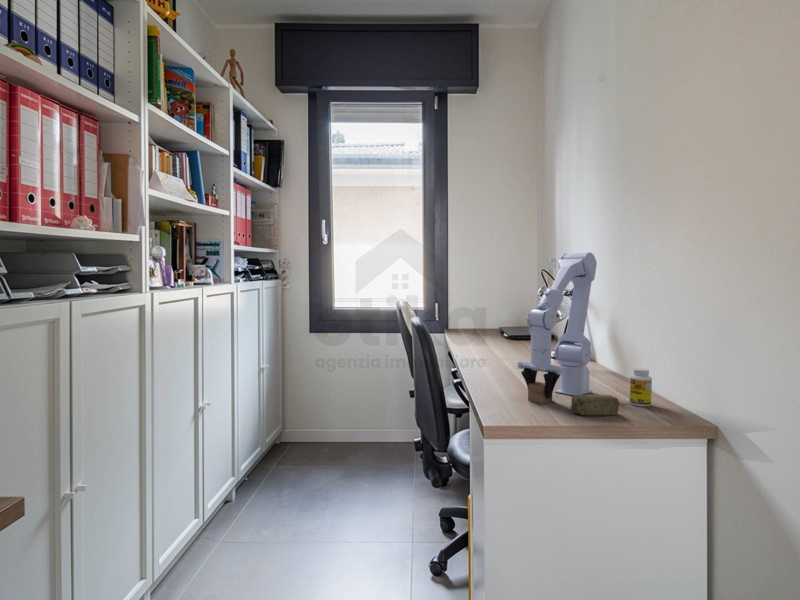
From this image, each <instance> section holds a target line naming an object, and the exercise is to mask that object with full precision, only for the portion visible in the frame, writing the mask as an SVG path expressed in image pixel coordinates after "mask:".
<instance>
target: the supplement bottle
mask: <svg viewBox="0 0 800 600" xmlns="http://www.w3.org/2000/svg"><path fill="white" fill-rule="evenodd" d="M632 372H633V374H631V375H630V378H629V379H630V383H629V403H630V405H633V406H635V407H643V408H644V407H650V406H651V405H652V389H653V387H652V386H653V378H652V377H651V376H650V369H647V368H641V367H636V368H633V371H632Z"/></svg>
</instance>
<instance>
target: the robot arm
mask: <svg viewBox="0 0 800 600" xmlns="http://www.w3.org/2000/svg"><path fill="white" fill-rule="evenodd" d="M557 262H558V263H557V264H558V265H557V266H558V267H557V268H558V272H557V274H556V276H555V278H554V281H553V283H552V286H551V288H548V289H546V290H544V292H543V295H542V296H541V298H540V300H539V302H538V303H537V305H536V307H535V308H533V309H532V310H530V311H529V312H528V314H527V318H526V324H527V326H528V332H529V334H530V362H529V361H517V369H518V370H520V369H522V371H521V375H522V377H523V379H524V381H525V383H526V386H527V388H528V384H529V383H534V382H537V381H536V379H537V374H538V372H543V378H544V383H545V386H546V390H545V395H546V398H550V397H552V398H553V392H555V393H559V394H565V395H570V396H573V395H587V394H589V393H592V391H593V390H591V389H590V369H589V368H588V366H587V365H588V363H589V362H590V361H591V359H592V349H591V348H592V347H591V346H592V342H591V340H589V339H588V338H587V337H586V335H585V334H584V333H585V327H586V323H587V322H586V321H587V316H588V309H589V301H590V295H591V289H592V282H593V281H595V277H596V270H597V265H598V263H597V260H596V257H595V255H594V254H593V253H592V252H578V253H562V254H561V255H560V258H559V260H558V261H557ZM570 282H572V284H573V288H572V289H573V290H572V294H571V301H570V306H569V307H570V308H569V314H568V321H567V327H566V332H565V333H563V334H561V336H559V337H558V341H557V344H556V346H555V348H554V357H555V360H556V361H558V364H559V366H558V365H554V364H551V363H552V357H551V356H552V330H553V328H554V327H555V326H556V322H557V315H558V313H557V312H558V310H559V308H560V306H561V304H562V302H563V300H564V296H563V292H564V291H565V289H566V288H567V286H568V285H569V284H570ZM559 378H560V381H559V385H560V386H559V389H555V386H556V383H557V382H558V380H559Z"/></svg>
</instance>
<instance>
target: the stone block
mask: <svg viewBox="0 0 800 600" xmlns="http://www.w3.org/2000/svg"><path fill="white" fill-rule="evenodd" d="M619 403H620V402H619V399H618V397H615V396H613V395H611V394H610V395H609V394H583V395H571V407H570V410H571V413H573V414H574V415H575V413H576V415H580V416H586V417H590V416H591V417H593V416H595V417H596V416H597V417H598V416H600V417H601V416H603V417H604V416H606V417H607V416H610V417H611V416H616V415H618V413H619V408H620V407H619V405H620V404H619Z"/></svg>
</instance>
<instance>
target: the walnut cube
mask: <svg viewBox="0 0 800 600" xmlns="http://www.w3.org/2000/svg"><path fill="white" fill-rule="evenodd" d="M545 390H546V386H545V382H542V381H535V382H534V383H529V384H528V387H527V401H529V402H533V403H538V404H544V405H545V404H546V403H550V402H553V396H552V397H550V398H546V395H545Z"/></svg>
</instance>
